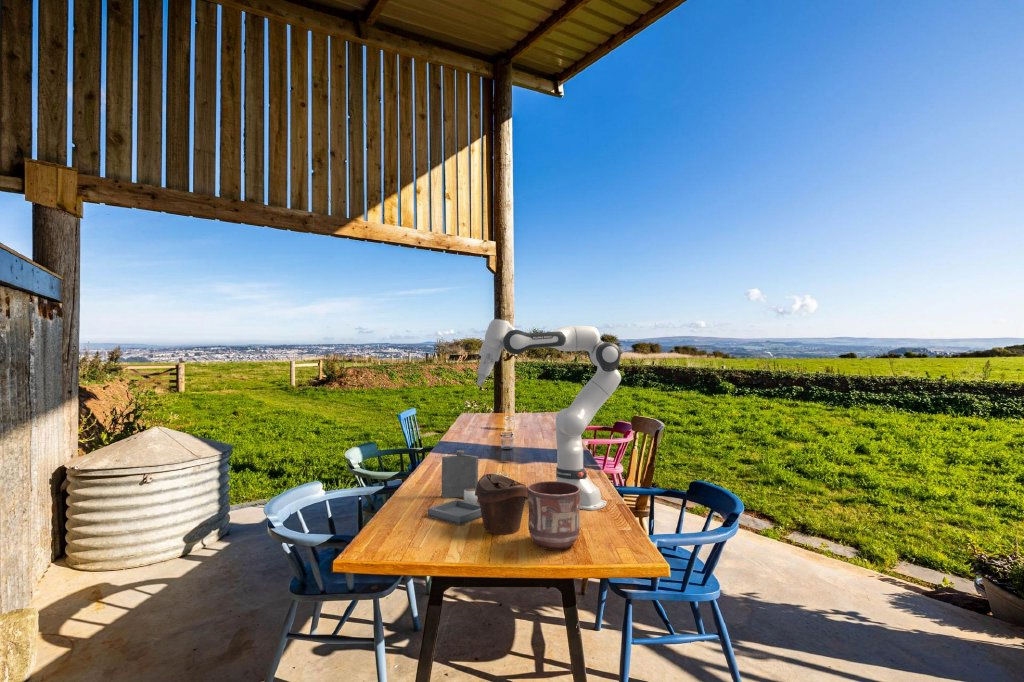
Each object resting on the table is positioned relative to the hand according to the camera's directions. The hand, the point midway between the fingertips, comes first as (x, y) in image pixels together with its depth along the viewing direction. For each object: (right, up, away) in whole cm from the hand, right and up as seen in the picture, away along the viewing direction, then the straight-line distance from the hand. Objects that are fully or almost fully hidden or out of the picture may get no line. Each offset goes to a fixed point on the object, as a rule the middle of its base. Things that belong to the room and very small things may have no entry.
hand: (479, 385), depth 203 cm
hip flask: (-9, -50, +6) cm, 51 cm away
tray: (-7, -48, -21) cm, 53 cm away
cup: (-3, -49, -6) cm, 49 cm away
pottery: (+27, -47, -50) cm, 74 cm away
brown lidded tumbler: (+11, -48, -36) cm, 60 cm away
